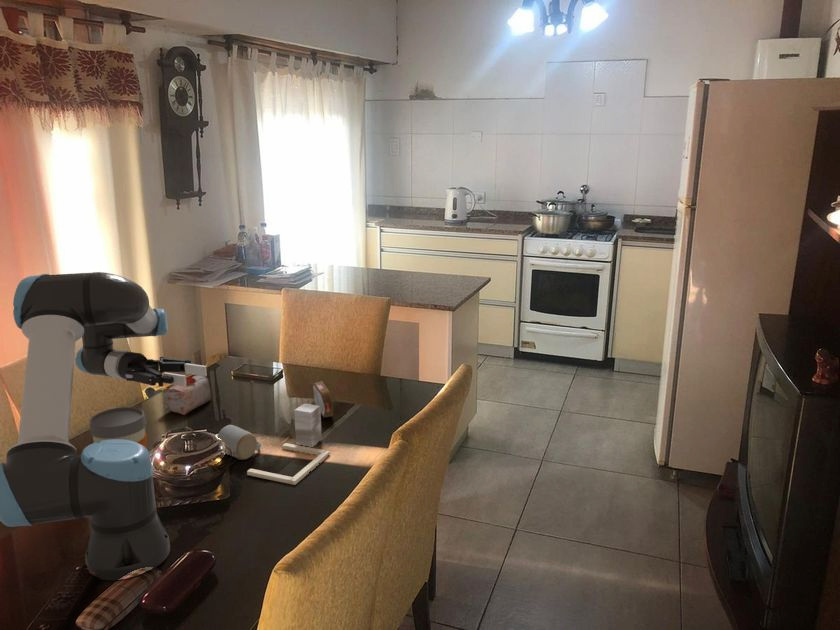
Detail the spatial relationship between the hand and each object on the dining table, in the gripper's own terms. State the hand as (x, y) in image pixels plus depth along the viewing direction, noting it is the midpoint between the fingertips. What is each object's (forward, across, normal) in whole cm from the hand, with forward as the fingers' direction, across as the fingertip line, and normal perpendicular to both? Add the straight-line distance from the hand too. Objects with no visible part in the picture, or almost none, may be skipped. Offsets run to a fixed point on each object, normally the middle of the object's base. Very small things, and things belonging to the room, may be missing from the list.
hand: (195, 376), depth 174 cm
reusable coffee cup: (-8, +19, -20) cm, 29 cm away
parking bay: (+27, 0, -20) cm, 34 cm away
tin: (+18, -33, -20) cm, 43 cm away
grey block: (+25, -13, -20) cm, 35 cm away
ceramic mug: (+12, -1, -20) cm, 24 cm away
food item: (-22, -21, -20) cm, 37 cm away
